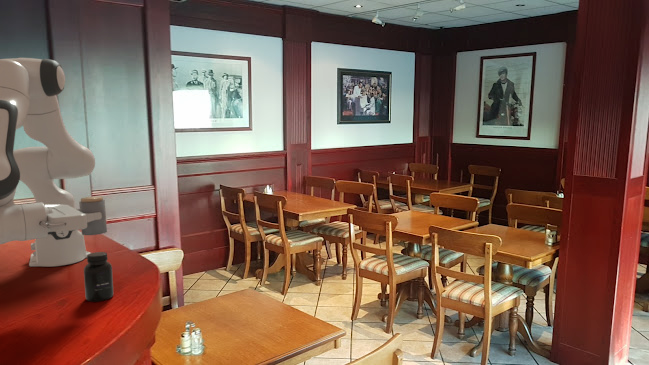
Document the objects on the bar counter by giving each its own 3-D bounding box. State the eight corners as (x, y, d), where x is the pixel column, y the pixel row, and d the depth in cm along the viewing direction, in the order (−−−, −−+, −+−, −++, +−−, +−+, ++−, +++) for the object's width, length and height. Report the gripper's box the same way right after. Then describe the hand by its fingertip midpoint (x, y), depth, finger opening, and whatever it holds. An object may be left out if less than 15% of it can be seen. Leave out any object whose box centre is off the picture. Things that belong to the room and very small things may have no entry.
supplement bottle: (103, 303, 125) (99, 258, 124) (80, 301, 127) (76, 257, 125) (119, 293, 132) (116, 251, 130) (97, 292, 133) (93, 250, 132)
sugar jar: (79, 232, 127) (76, 198, 126) (103, 229, 131) (100, 195, 130) (85, 236, 123) (82, 200, 121) (109, 232, 126) (107, 197, 125)
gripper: (43, 213, 110) (107, 206, 118) (28, 203, 125) (85, 197, 134) (46, 241, 110) (109, 231, 119) (30, 227, 126) (87, 219, 135)
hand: (96, 213), depth 127 cm, fingers closed on sugar jar, 6 cm apart
